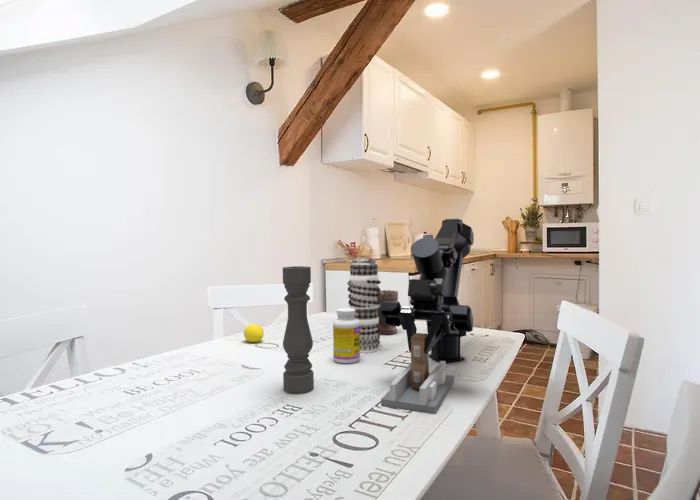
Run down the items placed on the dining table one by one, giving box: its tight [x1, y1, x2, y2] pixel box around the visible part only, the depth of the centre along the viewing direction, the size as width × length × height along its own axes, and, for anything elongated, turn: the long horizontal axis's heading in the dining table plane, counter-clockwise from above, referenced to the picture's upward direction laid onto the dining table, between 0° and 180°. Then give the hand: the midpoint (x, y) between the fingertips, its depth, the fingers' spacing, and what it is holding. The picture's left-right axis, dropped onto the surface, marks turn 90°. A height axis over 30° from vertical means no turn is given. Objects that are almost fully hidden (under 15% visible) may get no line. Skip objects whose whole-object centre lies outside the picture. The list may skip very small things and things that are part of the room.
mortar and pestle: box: [377, 284, 399, 336], centre depth 139 cm, size 12×9×20 cm
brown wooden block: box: [410, 332, 430, 389], centre depth 86 cm, size 5×2×10 cm, turn 157°
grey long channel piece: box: [380, 361, 455, 415], centre depth 87 cm, size 18×10×4 cm, turn 156°
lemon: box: [243, 323, 265, 344], centre depth 130 cm, size 7×5×5 cm
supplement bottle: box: [332, 307, 361, 364], centre depth 110 cm, size 7×7×13 cm
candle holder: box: [282, 265, 315, 395], centre depth 90 cm, size 6×6×25 cm
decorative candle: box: [347, 257, 382, 354], centre depth 121 cm, size 9×9×25 cm
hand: (418, 351), depth 85 cm, fingers open, 3 cm apart
